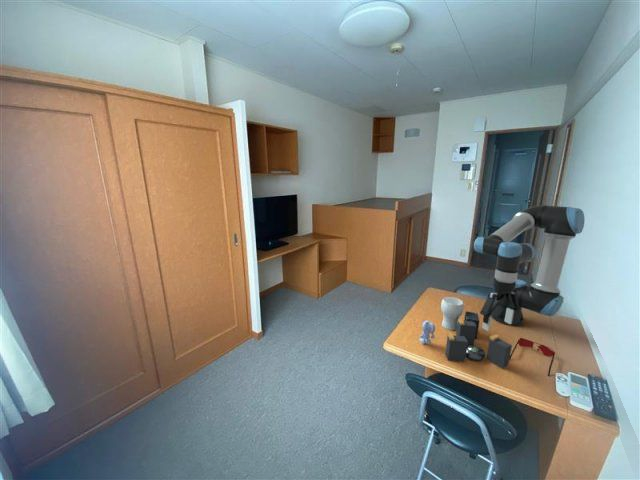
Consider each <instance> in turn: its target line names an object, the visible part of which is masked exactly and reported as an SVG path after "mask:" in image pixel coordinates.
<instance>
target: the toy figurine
mask: <svg viewBox="0 0 640 480" xmlns="http://www.w3.org/2000/svg"><path fill="white" fill-rule="evenodd" d="M421 328H422V334H420V335H419V342H420V343H421V344H422V345H425V344H427V345H431V340H432V339H435V335H434V333H435V331H436V326H435V323H433V322H431V321H429V320H425V321H423V322H422V323H421ZM430 334H431V336H430ZM430 338H431V340H430Z"/></svg>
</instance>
